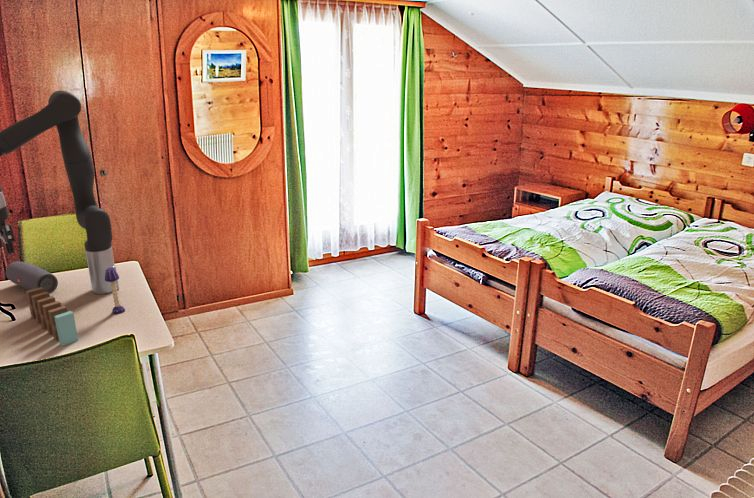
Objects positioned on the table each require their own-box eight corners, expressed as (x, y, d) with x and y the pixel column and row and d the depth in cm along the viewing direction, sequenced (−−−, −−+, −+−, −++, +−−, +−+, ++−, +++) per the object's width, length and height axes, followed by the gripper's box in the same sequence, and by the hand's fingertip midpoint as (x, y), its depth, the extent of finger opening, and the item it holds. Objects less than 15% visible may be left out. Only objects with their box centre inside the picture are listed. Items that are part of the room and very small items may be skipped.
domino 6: (59, 344, 187) (54, 316, 184) (75, 338, 191) (70, 310, 188) (62, 346, 186) (57, 318, 183) (78, 340, 190) (73, 312, 186)
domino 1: (31, 317, 205) (25, 291, 201) (46, 312, 209) (41, 287, 205) (34, 319, 204) (28, 293, 200) (48, 314, 207) (43, 288, 204)
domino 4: (47, 332, 194) (42, 305, 191) (63, 327, 198) (58, 300, 195) (50, 334, 193) (44, 307, 190) (66, 329, 197) (60, 302, 193)
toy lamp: (117, 315, 207) (110, 271, 201) (107, 313, 208) (100, 269, 203) (127, 309, 211) (121, 267, 205) (117, 307, 213) (110, 265, 207)
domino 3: (42, 327, 198) (36, 300, 194) (57, 322, 202) (52, 296, 198) (44, 329, 197) (39, 302, 193) (60, 324, 200) (54, 297, 197)
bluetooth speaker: (6, 287, 229) (1, 264, 225) (30, 280, 236) (26, 256, 233) (37, 301, 217) (31, 277, 213) (61, 293, 224) (56, 269, 221)
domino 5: (53, 338, 191) (48, 310, 188) (69, 332, 195) (64, 305, 191) (56, 340, 190) (50, 312, 186) (72, 334, 193) (66, 307, 190)
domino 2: (36, 322, 201) (31, 296, 198) (52, 317, 205) (46, 291, 202) (39, 324, 200) (33, 297, 197) (54, 319, 204) (49, 293, 200)
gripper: (-29, 205, 198) (-16, 249, 204) (-9, 212, 190) (3, 258, 196) (-5, 199, 204) (7, 243, 210) (15, 206, 196) (26, 251, 202)
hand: (5, 250), depth 203 cm, fingers open, 8 cm apart
